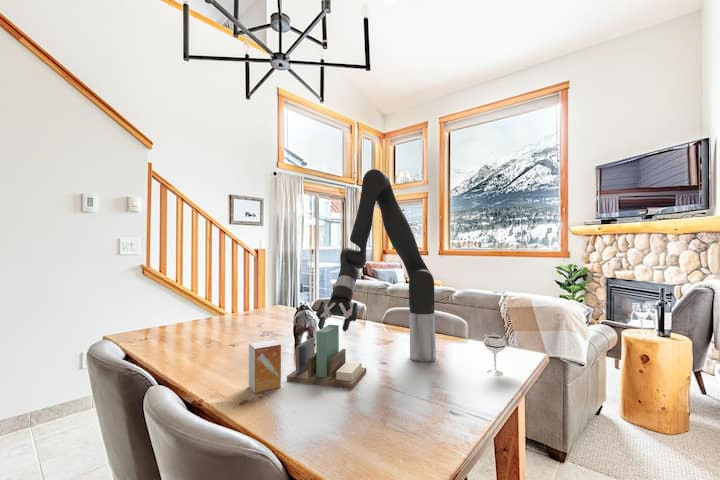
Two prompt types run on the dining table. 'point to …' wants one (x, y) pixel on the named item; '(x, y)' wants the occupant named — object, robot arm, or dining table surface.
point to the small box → (264, 366)
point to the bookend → (304, 355)
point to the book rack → (331, 380)
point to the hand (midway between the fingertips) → (332, 329)
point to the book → (326, 348)
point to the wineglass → (495, 348)
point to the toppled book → (349, 371)
